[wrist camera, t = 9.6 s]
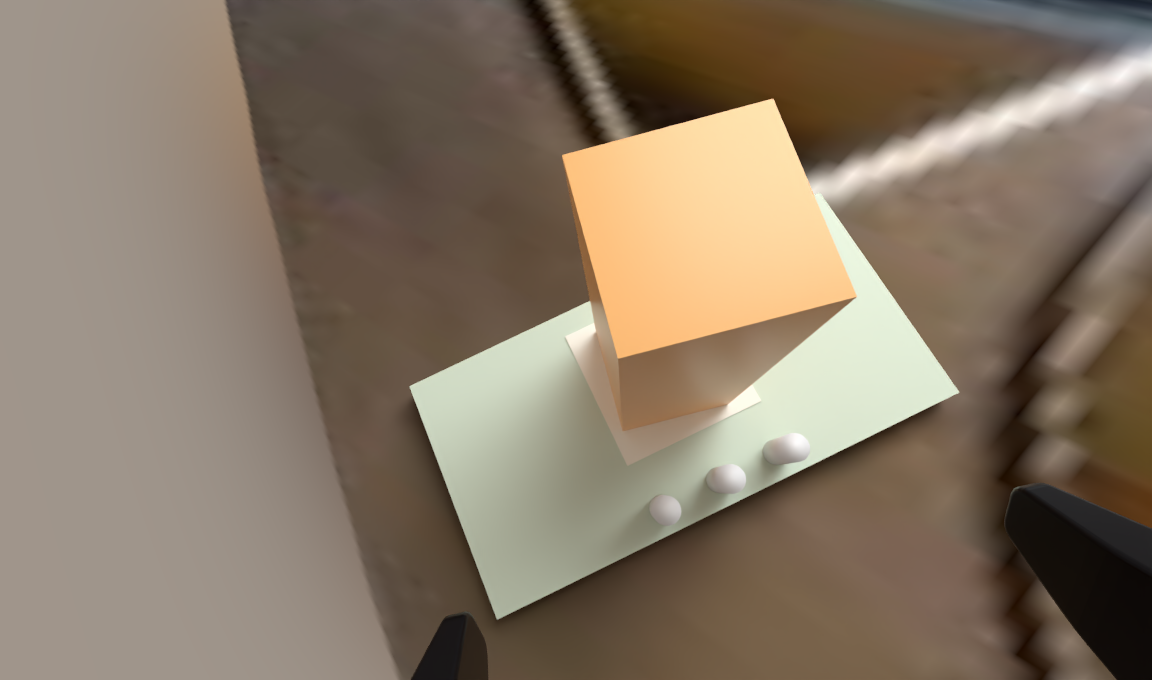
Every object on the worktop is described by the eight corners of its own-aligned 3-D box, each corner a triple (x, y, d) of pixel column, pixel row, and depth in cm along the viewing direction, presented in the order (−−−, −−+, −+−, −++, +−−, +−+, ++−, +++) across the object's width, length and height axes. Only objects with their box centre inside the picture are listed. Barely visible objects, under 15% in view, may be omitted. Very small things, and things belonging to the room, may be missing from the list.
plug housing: (728, 404, 22) (857, 296, 10) (622, 431, 22) (617, 358, 10) (695, 305, 23) (772, 98, 11) (596, 331, 23) (561, 155, 11)
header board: (941, 397, 22) (1002, 379, 19) (504, 612, 21) (479, 637, 18) (810, 206, 25) (841, 159, 21) (419, 391, 24) (384, 374, 21)
